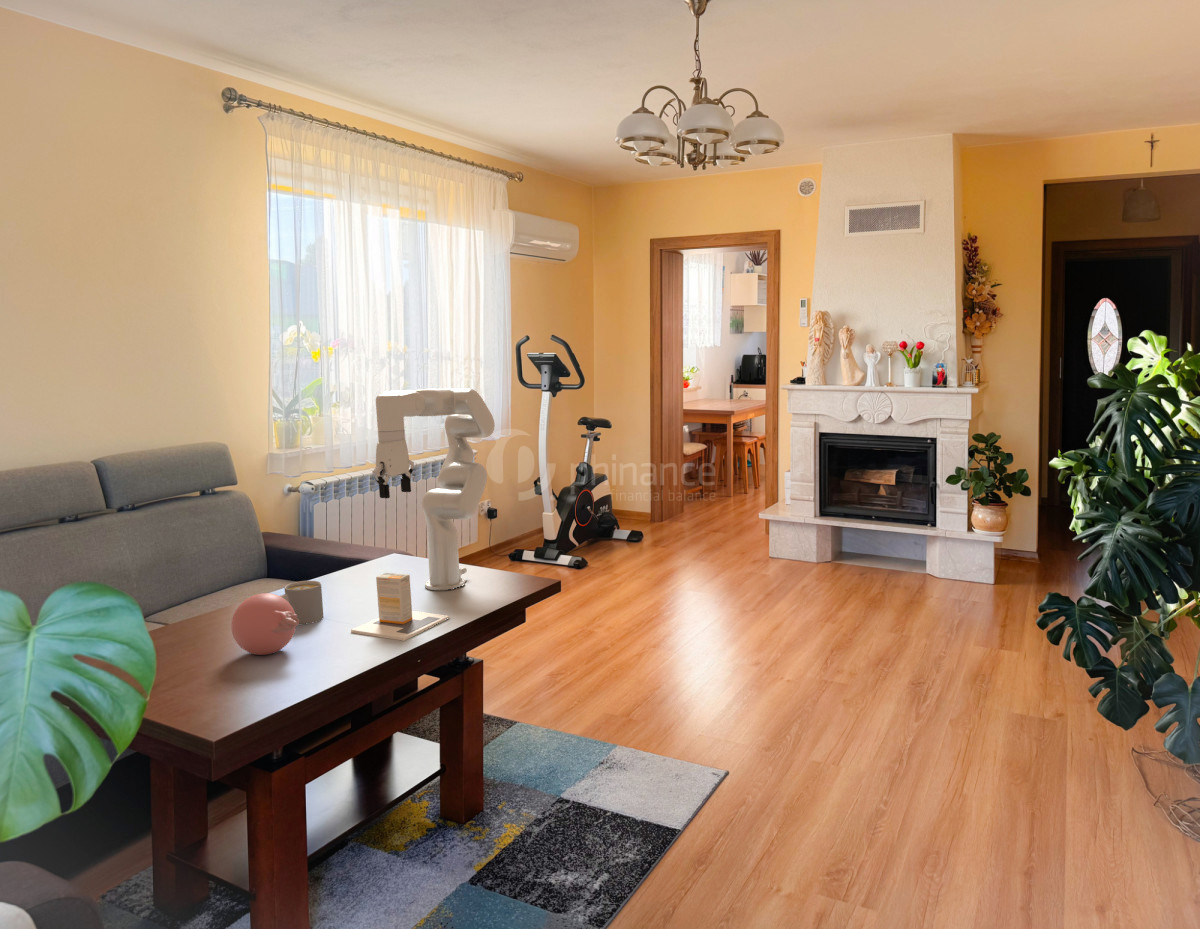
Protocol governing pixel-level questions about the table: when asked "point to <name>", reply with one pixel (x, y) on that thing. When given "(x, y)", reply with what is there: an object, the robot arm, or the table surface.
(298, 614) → the coffee mug
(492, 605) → the table surface
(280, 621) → the balloon
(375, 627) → the board
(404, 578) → the supplement box
